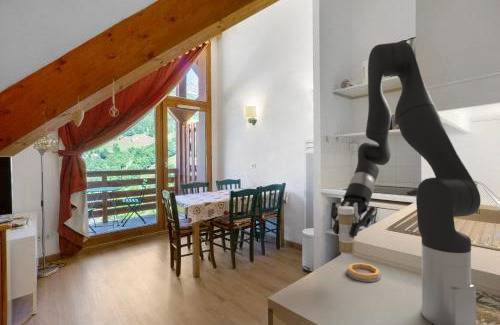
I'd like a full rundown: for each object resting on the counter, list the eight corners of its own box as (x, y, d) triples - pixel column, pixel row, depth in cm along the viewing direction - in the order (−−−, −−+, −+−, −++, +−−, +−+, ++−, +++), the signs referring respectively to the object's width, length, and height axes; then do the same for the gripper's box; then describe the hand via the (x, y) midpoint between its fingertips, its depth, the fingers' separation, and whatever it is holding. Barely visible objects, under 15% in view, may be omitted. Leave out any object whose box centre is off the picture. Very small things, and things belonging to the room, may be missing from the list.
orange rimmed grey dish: (388, 279, 81) (388, 273, 81) (360, 284, 79) (360, 277, 79) (366, 266, 91) (366, 261, 91) (340, 270, 89) (340, 264, 89)
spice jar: (344, 248, 82) (343, 205, 82) (358, 251, 78) (356, 206, 78) (335, 251, 79) (334, 207, 79) (349, 255, 75) (348, 208, 75)
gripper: (335, 181, 89) (316, 223, 80) (379, 183, 78) (363, 231, 70) (343, 195, 92) (326, 237, 84) (386, 198, 82) (372, 246, 74)
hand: (343, 234), depth 77 cm, fingers closed on spice jar, 4 cm apart
